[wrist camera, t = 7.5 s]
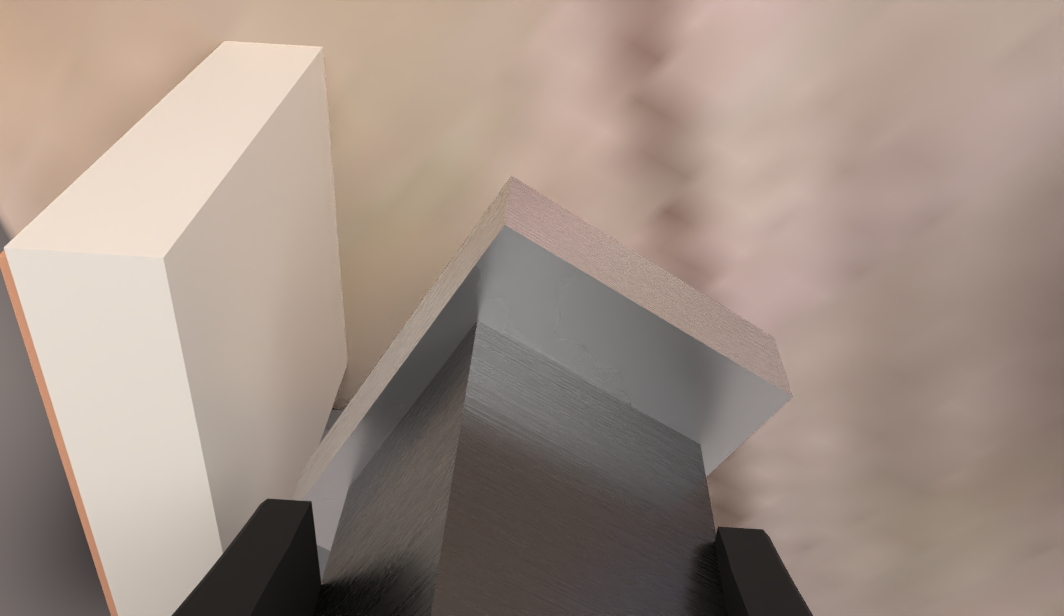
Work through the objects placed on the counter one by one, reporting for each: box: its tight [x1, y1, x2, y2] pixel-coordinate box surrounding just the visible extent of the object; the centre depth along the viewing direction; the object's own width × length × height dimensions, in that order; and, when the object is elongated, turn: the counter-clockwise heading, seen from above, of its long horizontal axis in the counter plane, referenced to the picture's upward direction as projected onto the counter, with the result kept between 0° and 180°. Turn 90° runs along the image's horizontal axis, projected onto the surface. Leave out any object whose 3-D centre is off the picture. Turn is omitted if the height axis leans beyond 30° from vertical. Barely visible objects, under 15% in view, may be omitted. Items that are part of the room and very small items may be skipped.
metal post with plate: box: [292, 176, 793, 616], centre depth 12 cm, size 5×7×8 cm
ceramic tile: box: [0, 41, 348, 616], centre depth 17 cm, size 2×8×8 cm, turn 177°
